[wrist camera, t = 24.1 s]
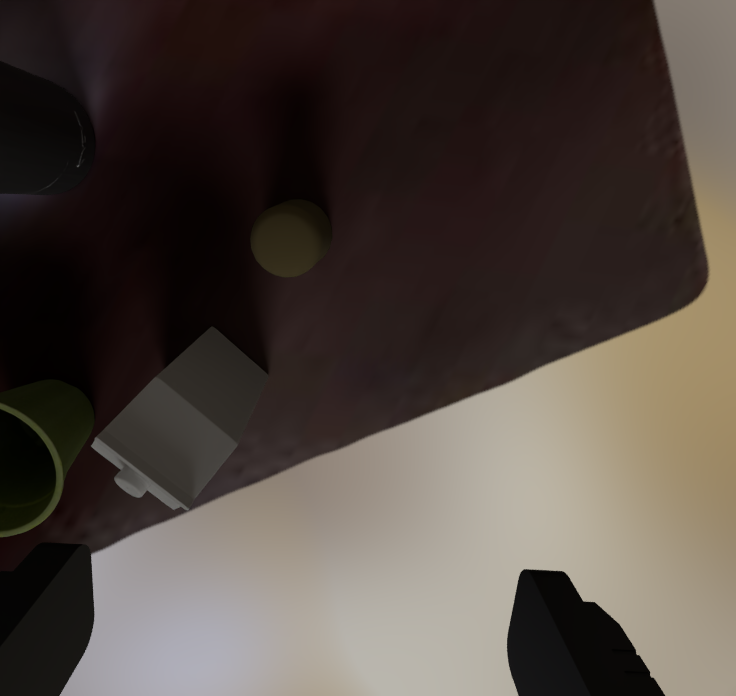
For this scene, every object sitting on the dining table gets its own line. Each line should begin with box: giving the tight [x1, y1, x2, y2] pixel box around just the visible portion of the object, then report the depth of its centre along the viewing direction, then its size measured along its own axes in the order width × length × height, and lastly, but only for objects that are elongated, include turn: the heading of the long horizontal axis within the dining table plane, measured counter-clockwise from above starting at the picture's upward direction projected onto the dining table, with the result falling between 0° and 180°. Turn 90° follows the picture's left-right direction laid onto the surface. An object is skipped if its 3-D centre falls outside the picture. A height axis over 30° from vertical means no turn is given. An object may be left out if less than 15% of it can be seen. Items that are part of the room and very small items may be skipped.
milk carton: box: [91, 327, 269, 510], centre depth 41 cm, size 7×7×19 cm
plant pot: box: [0, 379, 94, 537], centre depth 46 cm, size 12×12×11 cm
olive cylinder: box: [250, 199, 332, 277], centre depth 42 cm, size 6×6×11 cm
